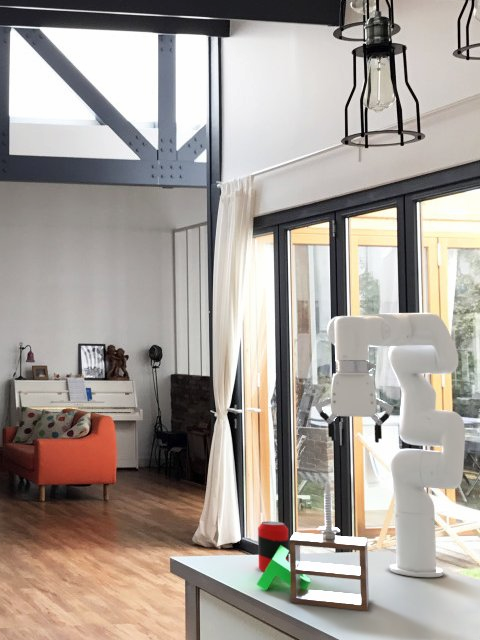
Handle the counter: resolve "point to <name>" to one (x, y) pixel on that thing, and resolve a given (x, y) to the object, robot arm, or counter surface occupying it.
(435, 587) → the counter surface
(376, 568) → the counter surface
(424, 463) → the robot arm
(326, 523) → the screw
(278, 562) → the bracket
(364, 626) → the counter surface
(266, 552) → the soda can
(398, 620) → the counter surface
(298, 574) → the shelf
